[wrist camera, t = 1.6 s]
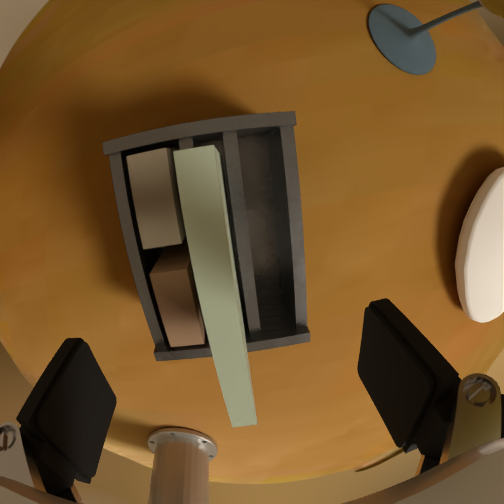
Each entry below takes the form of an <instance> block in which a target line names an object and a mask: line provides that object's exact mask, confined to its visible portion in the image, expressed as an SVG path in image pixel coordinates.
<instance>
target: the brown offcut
mask: <svg viewBox="0 0 504 504" xmlns="http://www.w3.org/2000/svg"><path fill="white" fill-rule="evenodd" d="M173 151H179V150H175V149H170V148H162V149H157V150H152V151H148V152H143V153H139V154H134V155H130V156H127V163H128V170H129V177H130V183H131V189H132V195H133V201H134V206H135V212H136V217H137V222H138V227H139V232H140V236H141V241H142V245H143V249H149V248H156V247H162V246H169V245H175V244H182V242H183V240H184V238H185V236H186V231H185V225H184V219H183V213H182V207H181V201H180V195H179V189H178V182H177V175H176V168H175V161H174V154H173Z"/></svg>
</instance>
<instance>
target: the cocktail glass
mask: <svg viewBox="0 0 504 504" xmlns="http://www.w3.org/2000/svg"><path fill="white" fill-rule="evenodd" d="M482 6H483V7H484V8H485V9H486V10H488V11H489V12H491V13H493V14H496V15H498V16H500V17H502V18H504V0H478V1H477V2H474V3H472V4H469V5H467V6H465V7H462V8H460V9H458V10H455V11H453V12H450V13H448V14H446V15H444V16H441V17H439V18H437V19H435V20H433V21H430V22H428V23H426V24H424V25H423V24H422V23H421V22H420V21H419V20H418V19H417V18H416V17H415V16H414V15H412V14H411V13H410V12H408V11H406V10H405V9H403V8H400V7H398V6H395V5H389V4H384V5H379V6H377V7H375V8H374V9H373V10H372V11H371V13H370V15H369V20H368V24H369V30H370V34H371V36H372V39H373V41H374V42H375V44H376V46H377V47H378V49H379V50H380V51H381V53H382V54H383V55H384V56H385V57H386V58H387V59H388V60H389V61H390V62H391V63H392V64H393V65H395V66H396V67H398V68H399V69H401V70H403V71H405V72H407V73H410V74H415V75H422V74H426V73H428V72H429V71H430V70H431V69H432V68H433V66H434V64H435V61H436V51H435V46H434V43H433V40H432V38H431V36H430V34H429V32H428V31H427V30H428V29H430V28H432V27H434V26H436V25H438V24H440V23H442V22H445V21H447V20H449V19H451V18H454V17H456V16H458V15H461V14H463V13H466V12H468V11H471V10H473V9H476V8H479V7H482Z"/></svg>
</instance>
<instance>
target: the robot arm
mask: <svg viewBox="0 0 504 504" xmlns="http://www.w3.org/2000/svg"><path fill="white" fill-rule="evenodd" d="M358 374H359V377H360V379H361V381H362V382H363V384H364V386H365V388H366V390H367V391H368V393H369V395H370V397H371V399H372V401H373V403H374V404H375V406H376V408H377V410H378V412H379V414H380V416H381V417H382V419H383V421H384V423H385V425H386V427H387V429H388V431H389V433H390V435H391V436H392V438H393V440H394V442H395V444H396V446H397V447H399V448H401V447H402V448H403V450H404V452H405V453H408V452H410V451H412V450H414V449H417V448H418V449H419V451H420V453H421V459H420V462H419V465H418V468H417V471H416V474H415V477H413V478H411V479H409V480H406V481H404V482H402V483H399V484H397V485H394V486H392V487H389V488H387V489H384V490H382V491H379V492H376V493H373V494H371V495H368V496H365V497H362V498H359V499H356V500H353V501H349V502H346V503H343V504H504V394H501V392H500V387H499V386H498V384H497V382H496V381H495V380H494V379H492V378H491V377H489V376H487V375H485V374H481V373H475V374H471V375H468V376H466V377H465V378H463V380H461V379H460V378H459V377H458V375H459V374H458V373H457V371H456V370H455V369H454V368H453V367H452V366H451V365H450V364H449V362H448V361H447V360H446V359H445V358H444V357H443V356H442V355H441V354H440V352H439V351H438V350H437V349H436V348H435V347H434V346H433V345H432V344H431V343H430V342H429V340H428V339H427V338H426V337H425V336H424V335H423V334H422V333H421V332H420V331H419V330H418V329H417V328H416V327H415V326H414V325H413V324H412V323H411V322H410V320H409V319H408V318H407V317H406V316H405V315H404V314H403V313H402V312H401V311H400V310H399V309H398V308H397V307H396V306H395V305H394V304H393V303H392V302H391V301H390V300H389V299H387V298H385V299H381V300H376V301H372V302H370V304H369V307H366V308H365V312H364V322H363V331H362V339H361V347H360V354H359V361H358ZM115 407H116V396H115V394H114V392H113V391H112V389H111V387H110V385H109V384H108V382H107V380H106V378H105V376H104V375H103V373H102V371H101V369H100V367H99V365H98V363H97V361H96V359H95V357H94V355H93V353H92V351H91V349H90V347H89V345H88V344H87V343H86V342H84V340H83V339H81V338H67V339H66V340H65V341H64V342H63V344H62V345H61V346H60V348H59V349H58V351H57V352H56V354H55V355H54V357H53V358H52V360H51V361H50V363H49V364H48V366H47V368H46V369H45V371H44V372H43V374H42V375H41V377H40V379H39V380H38V382H37V383H36V385H35V387H34V388H33V390H32V392H31V394H30V395H29V397H28V398H27V400H26V402H25V404H24V405H23V407H22V409H21V411H20V412H19V415H18V416H17V418H16V420H17V421H18V422H19V423H20V424H21V427H20V429H19V427H18V426H17V425H16V424H14V423H12V422H5V423H2V424H0V504H84V503H83V501H82V499H81V497H80V495H79V493H78V491H77V489H76V487H75V485H74V483H73V482H74V479H76V480H77V481H81V482H84V483H88V484H90V482H91V478H92V477H94V476H95V474H96V470H97V467H98V463H99V459H100V456H101V452H102V449H103V445H104V442H105V438H106V435H107V432H108V428H109V425H110V422H111V419H112V416H113V413H114V410H115ZM148 447H149V448H150V450H151V451H152V452H153V453H154V461H153V468H152V476H151V484H150V491H149V499H148V504H209V461H211V460H212V459H214V458H215V457H216V455H217V445H216V443H215V442H214V441H213V440H212V439H211V438H209V437H208V436H206V435H204V434H202V433H199V432H197V431H193V430H189V429H184V428H163V429H159V430H156V431H154V432H153V433H151V434H150V436H149V438H148Z"/></svg>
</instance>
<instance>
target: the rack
mask: <svg viewBox="0 0 504 504" xmlns="http://www.w3.org/2000/svg"><path fill="white" fill-rule="evenodd" d="M295 125H297V124H296V116H295V111H291V112H273V113H260V114H249V115H239V116H230V117H222V118H215V119H208V120H201V121H195V122H189V123H183V124H178V125H172V126H167V127H162V128H158V129H153V130H149V131H144V132H140V133H136V134H132V135H128V136H124V137H120V138H116V139H113V140H109V141H106V142H102V144H103V152H104V155H109V159H110V167H111V173H112V180H113V186H114V192H115V197H116V203H117V208H118V213H119V218H120V223H121V228H122V232H123V237H124V241H125V245H126V250H127V254H128V258H129V262H130V266H131V269H132V273H133V277H134V280H135V284H136V287H137V291H138V294H139V298H140V301H141V304H142V307H143V311H144V314H145V317H146V320H147V323H148V326H149V329H150V332H151V335H152V338H153V341H154V343H155V350H154V355H155V358H156V360H157V361H166V360H180V359H192V358H202V357H212V352H211V348H210V344H209V340H208V335H207V331H206V327H205V339H204V344H198V345H188V346H177V347H171V346H170V343H169V340H168V337H167V334H166V331H165V327H164V324H163V321H162V318H161V314H160V311H159V307H158V304H157V300H156V297H155V293H154V290H153V286H152V282H151V278H150V272H151V271H152V269H153V267H154V266H155V264H156V262H157V261H158V259H159V257H160V256H161V254H162V253H163V251H164V249H165V248H166V246H162V247H156V248H149V249H143V245H142V241H141V236H140V232H139V227H138V222H137V217H136V212H135V206H134V201H133V195H132V189H131V183H130V177H129V170H128V163H127V156H130V155H134V154H139V153H143V152H148V151H152V150H157V149H162V148H170V149H175V150H184V149H190V148H196V147H203V146H209V145H214V146H215V148H216V149H217V151H218V152H219V154H220V155H221V161H222V169H223V177H224V185H225V192H226V200H227V207H228V214H229V222H230V229H231V236H232V243H233V250H234V257H235V264H236V271H237V278H238V285H239V292H240V300H241V308H242V316H243V323H244V331H245V339H246V346H247V352H251V351H258V350H265V349H271V348H277V347H283V346H288V345H294V344H299V343H304V342H310V332H309V329H308V327H307V304H306V277H305V257H304V240H303V224H302V211H301V198H300V186H299V175H298V165H297V155H296V146H295V137H294V128H293V126H295ZM184 241H187V236H185V238H184V240H183V242H184Z"/></svg>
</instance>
